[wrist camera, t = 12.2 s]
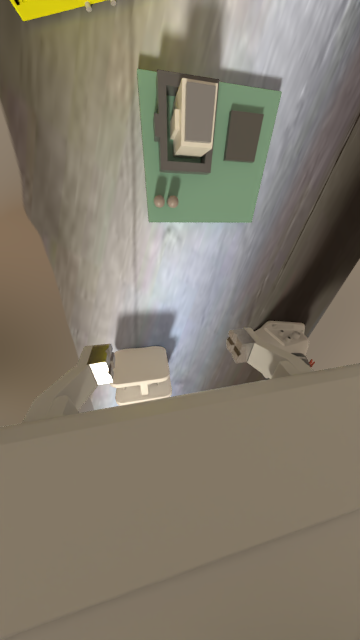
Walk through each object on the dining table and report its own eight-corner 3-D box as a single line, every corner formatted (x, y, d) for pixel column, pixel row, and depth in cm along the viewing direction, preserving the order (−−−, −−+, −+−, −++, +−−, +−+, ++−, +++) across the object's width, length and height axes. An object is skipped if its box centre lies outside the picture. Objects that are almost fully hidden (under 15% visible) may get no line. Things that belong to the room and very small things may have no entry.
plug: (201, 108, 23) (220, 80, 17) (198, 158, 26) (213, 147, 20) (169, 104, 22) (178, 73, 17) (169, 156, 25) (177, 144, 20)
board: (274, 97, 25) (294, 81, 21) (247, 221, 34) (258, 223, 31) (137, 76, 21) (136, 54, 18) (148, 221, 30) (149, 223, 27)
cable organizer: (167, 343, 49) (174, 376, 39) (167, 366, 55) (172, 400, 45) (113, 348, 46) (107, 385, 36) (119, 372, 52) (115, 409, 42)
